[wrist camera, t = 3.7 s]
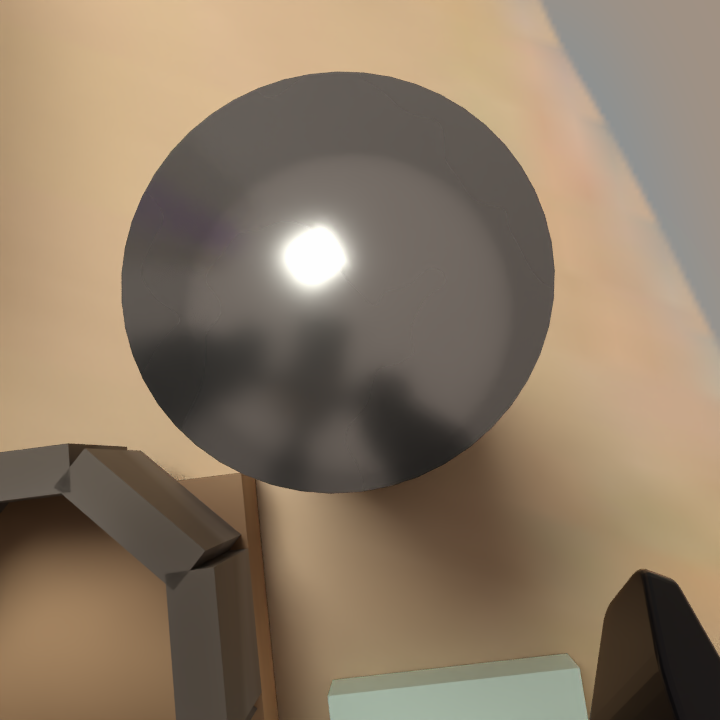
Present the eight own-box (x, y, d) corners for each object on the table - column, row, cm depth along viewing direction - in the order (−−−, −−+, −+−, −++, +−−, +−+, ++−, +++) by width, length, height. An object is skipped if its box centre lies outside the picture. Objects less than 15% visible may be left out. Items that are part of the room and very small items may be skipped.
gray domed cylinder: (473, 463, 18) (591, 463, 7) (296, 485, 18) (136, 519, 7) (447, 289, 18) (515, 43, 8) (277, 312, 19) (108, 104, 8)
